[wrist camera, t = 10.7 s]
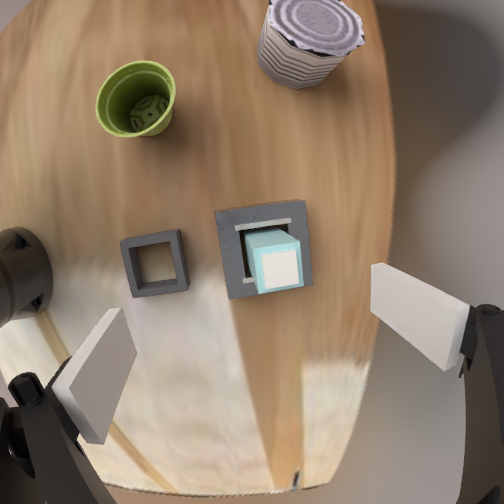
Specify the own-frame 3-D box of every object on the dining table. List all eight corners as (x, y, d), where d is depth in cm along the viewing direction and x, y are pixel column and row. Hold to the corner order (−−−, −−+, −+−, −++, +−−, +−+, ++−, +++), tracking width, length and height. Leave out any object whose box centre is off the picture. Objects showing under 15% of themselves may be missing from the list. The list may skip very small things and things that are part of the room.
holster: (138, 290, 38) (132, 298, 35) (126, 238, 36) (119, 241, 33) (189, 283, 38) (187, 290, 35) (179, 228, 37) (175, 231, 34)
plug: (247, 263, 39) (260, 296, 26) (242, 231, 38) (253, 250, 25) (279, 258, 39) (306, 288, 27) (275, 226, 38) (302, 242, 26)
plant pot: (197, 122, 34) (191, 103, 26) (139, 162, 34) (117, 154, 26) (165, 74, 32) (152, 46, 23) (109, 112, 32) (84, 94, 24)
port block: (227, 289, 39) (228, 300, 35) (215, 210, 37) (214, 212, 33) (304, 276, 40) (313, 285, 36) (296, 199, 38) (305, 200, 33)
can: (255, 87, 34) (270, 47, 22) (254, 25, 31) (266, -22, 20) (333, 94, 35) (372, 64, 23) (326, 34, 33) (357, -5, 21)
